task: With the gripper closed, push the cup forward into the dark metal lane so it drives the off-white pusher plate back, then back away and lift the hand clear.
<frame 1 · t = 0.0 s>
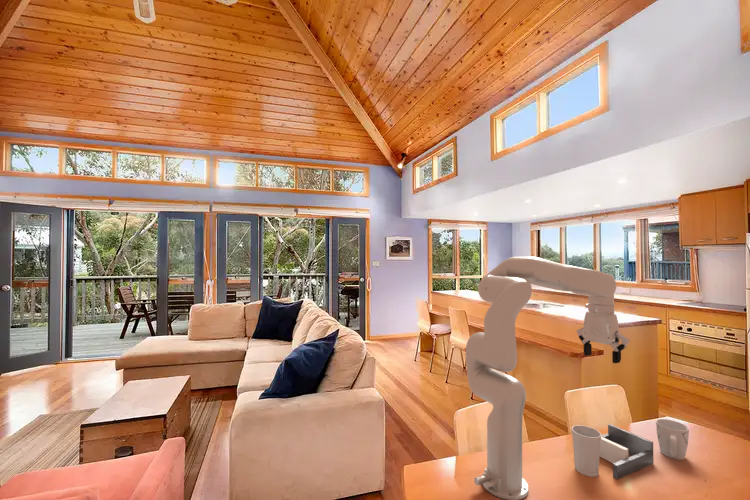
hand: (601, 358, 120), 31 cm above the table, tool pointing down, fingers open, 9 cm apart
mug: (672, 457, 116), on the table
cup: (586, 471, 108), on the table
lane: (612, 460, 113), on the table
pusher plate: (610, 451, 113), point 3 cm above the table, slide at 0.0 cm
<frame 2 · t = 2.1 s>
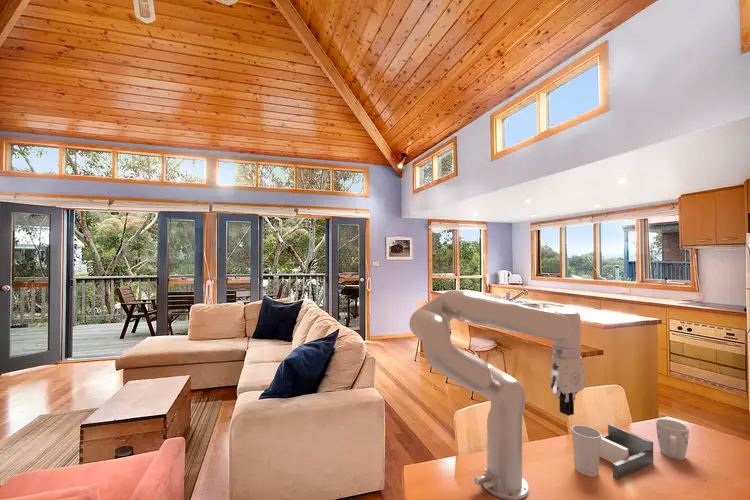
hand: (566, 413, 105), 19 cm above the table, tool pointing down, fingers closed
nothing on the table moved.
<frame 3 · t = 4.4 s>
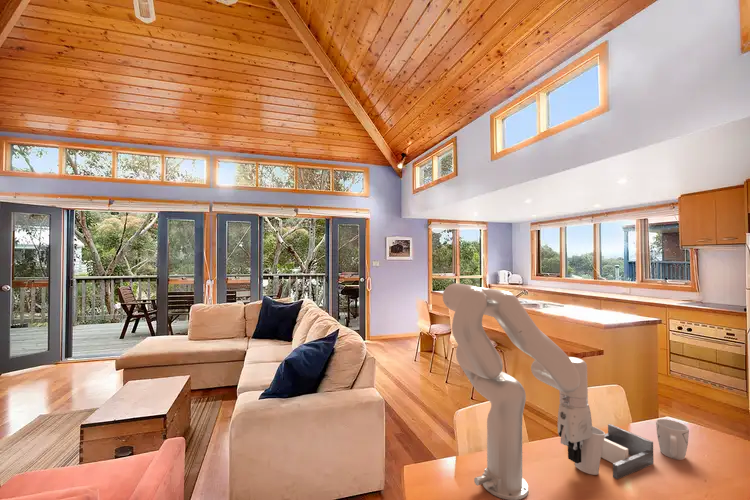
hand: (574, 460, 106), 4 cm above the table, tool pointing down, fingers closed
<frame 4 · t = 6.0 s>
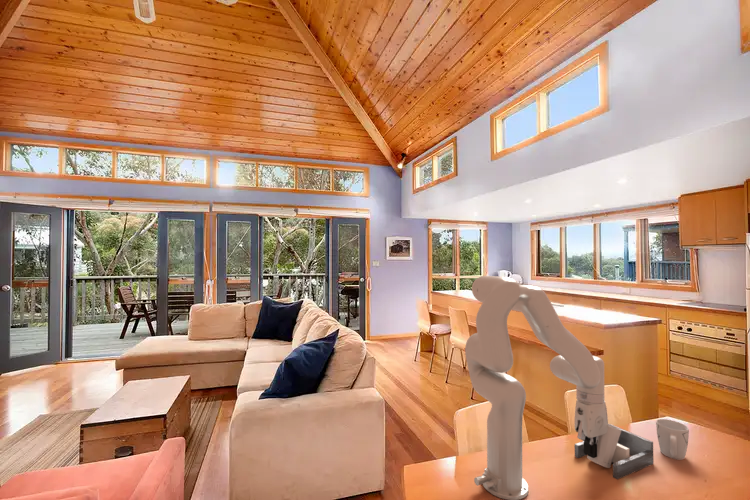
hand: (590, 455, 109), 4 cm above the table, tool pointing down, fingers closed
cup: (598, 463, 110), point 1 cm above the table, touching gripper
pusher plate: (611, 450, 113), point 3 cm above the table, slide at 0.5 cm
everything else where it was.
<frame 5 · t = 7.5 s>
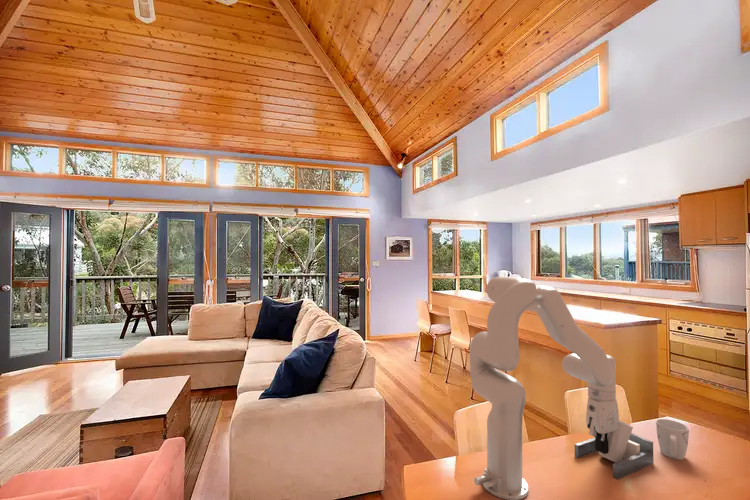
hand: (601, 451, 111), 4 cm above the table, tool pointing down, fingers closed
cup: (609, 459, 113), point 1 cm above the table, touching gripper
pusher plate: (621, 446, 116), point 3 cm above the table, slide at 6.2 cm
everything else where it was.
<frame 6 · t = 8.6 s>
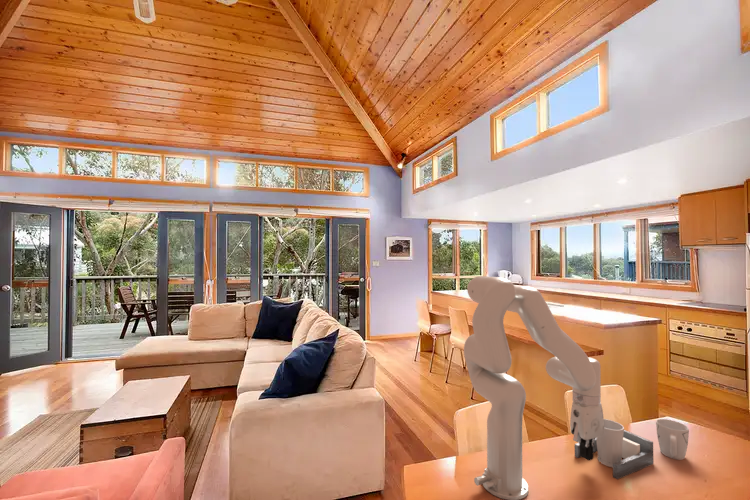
hand: (586, 457, 108), 4 cm above the table, tool pointing down, fingers closed
cup: (609, 462, 113), resting in lane
everything else where it was.
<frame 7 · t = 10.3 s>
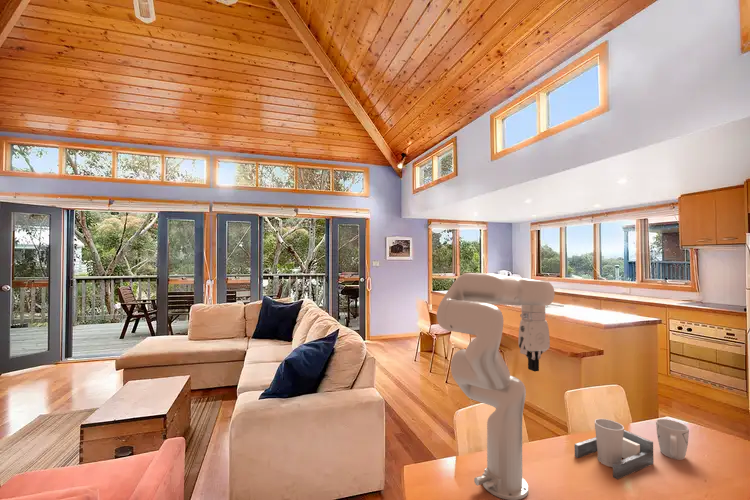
hand: (533, 370, 119), 27 cm above the table, tool pointing down, fingers closed
nothing on the table moved.
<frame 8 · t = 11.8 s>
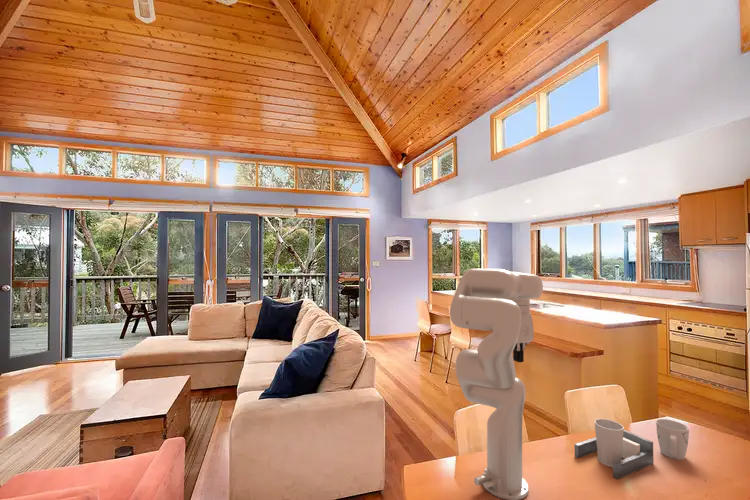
hand: (518, 361, 124), 29 cm above the table, tool pointing down, fingers closed
nothing on the table moved.
at the end: cup inside the target area on the lane (3.2 cm from its centre), point 0.0 cm above the lane's base; pusher plate slide at 6.2 cm; cup tilted 0° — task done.
